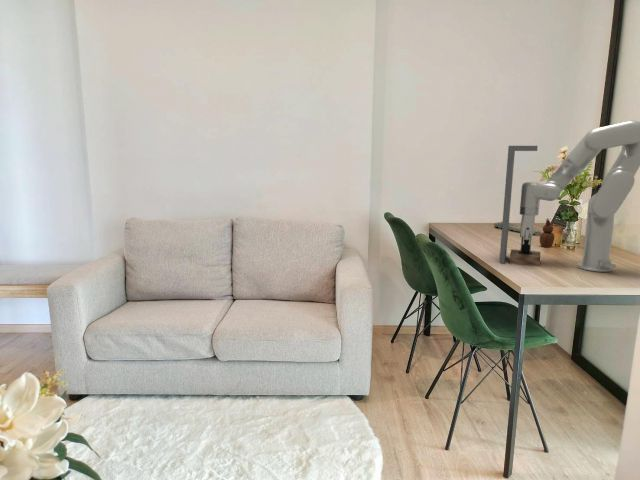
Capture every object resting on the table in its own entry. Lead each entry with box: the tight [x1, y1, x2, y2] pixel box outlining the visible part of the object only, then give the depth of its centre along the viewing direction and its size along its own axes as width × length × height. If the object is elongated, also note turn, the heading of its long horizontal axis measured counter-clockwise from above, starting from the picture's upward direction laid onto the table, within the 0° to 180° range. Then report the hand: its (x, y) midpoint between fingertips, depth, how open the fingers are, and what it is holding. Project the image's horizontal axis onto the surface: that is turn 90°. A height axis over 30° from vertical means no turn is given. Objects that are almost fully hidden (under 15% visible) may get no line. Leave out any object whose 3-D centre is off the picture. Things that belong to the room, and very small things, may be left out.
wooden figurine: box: [539, 218, 555, 248], centre depth 245 cm, size 7×6×15 cm
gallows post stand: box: [499, 145, 538, 264], centre depth 208 cm, size 11×16×50 cm
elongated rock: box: [493, 221, 542, 236], centre depth 296 cm, size 35×5×10 cm
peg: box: [520, 236, 533, 254], centre depth 210 cm, size 4×4×8 cm
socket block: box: [508, 248, 541, 267], centre depth 211 cm, size 12×12×4 cm
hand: (525, 252), depth 210 cm, fingers closed on peg, 3 cm apart
